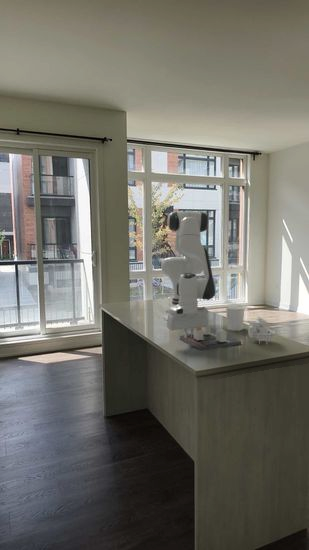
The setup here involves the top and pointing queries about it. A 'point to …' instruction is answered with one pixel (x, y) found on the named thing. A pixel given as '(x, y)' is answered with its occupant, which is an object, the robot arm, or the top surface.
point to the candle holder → (235, 317)
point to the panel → (210, 341)
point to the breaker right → (221, 335)
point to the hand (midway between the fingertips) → (188, 337)
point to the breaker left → (206, 330)
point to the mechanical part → (260, 330)
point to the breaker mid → (198, 334)
